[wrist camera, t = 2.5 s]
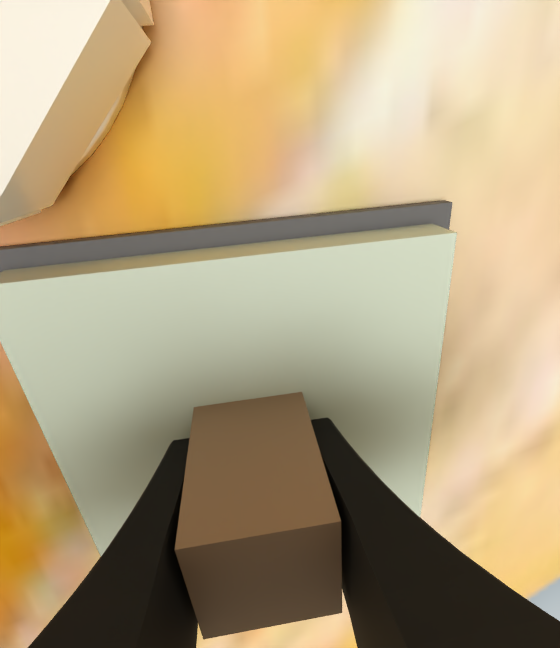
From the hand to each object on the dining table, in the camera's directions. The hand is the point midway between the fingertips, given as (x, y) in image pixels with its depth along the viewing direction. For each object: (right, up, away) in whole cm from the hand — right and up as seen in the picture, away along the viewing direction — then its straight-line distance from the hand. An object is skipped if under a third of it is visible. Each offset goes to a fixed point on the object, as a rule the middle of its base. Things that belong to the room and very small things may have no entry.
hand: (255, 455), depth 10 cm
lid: (0, +1, +2) cm, 2 cm away
